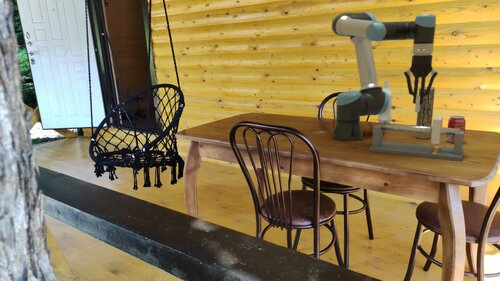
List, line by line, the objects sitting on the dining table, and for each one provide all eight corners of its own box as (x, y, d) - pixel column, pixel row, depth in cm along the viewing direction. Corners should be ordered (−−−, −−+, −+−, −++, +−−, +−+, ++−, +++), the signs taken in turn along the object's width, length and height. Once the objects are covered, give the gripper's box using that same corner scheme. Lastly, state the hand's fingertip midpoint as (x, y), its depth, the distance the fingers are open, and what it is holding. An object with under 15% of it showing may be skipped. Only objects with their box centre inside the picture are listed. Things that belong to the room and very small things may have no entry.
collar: (430, 143, 149) (432, 119, 146) (433, 138, 156) (435, 115, 154) (438, 144, 147) (441, 120, 145) (440, 139, 155) (443, 116, 152)
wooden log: (432, 139, 175) (436, 87, 169) (417, 139, 177) (421, 88, 171) (428, 136, 182) (432, 86, 176) (414, 136, 183) (417, 86, 177)
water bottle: (389, 125, 209) (391, 82, 203) (376, 124, 213) (378, 81, 207) (391, 123, 215) (394, 80, 209) (379, 122, 219) (381, 80, 212)
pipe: (377, 130, 162) (377, 123, 161) (378, 129, 165) (379, 122, 164) (459, 137, 145) (459, 129, 145) (459, 135, 148) (460, 127, 147)
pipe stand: (368, 151, 161) (369, 129, 158) (376, 143, 172) (377, 123, 170) (462, 161, 142) (464, 136, 140) (463, 152, 154) (465, 129, 151)
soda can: (449, 139, 174) (451, 114, 171) (465, 141, 170) (468, 116, 167) (444, 142, 170) (446, 117, 167) (460, 144, 165) (463, 118, 162)
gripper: (403, 55, 147) (399, 111, 154) (439, 54, 141) (433, 114, 147) (406, 54, 153) (402, 108, 160) (441, 53, 147) (435, 110, 153)
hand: (417, 111), depth 153 cm, fingers closed
